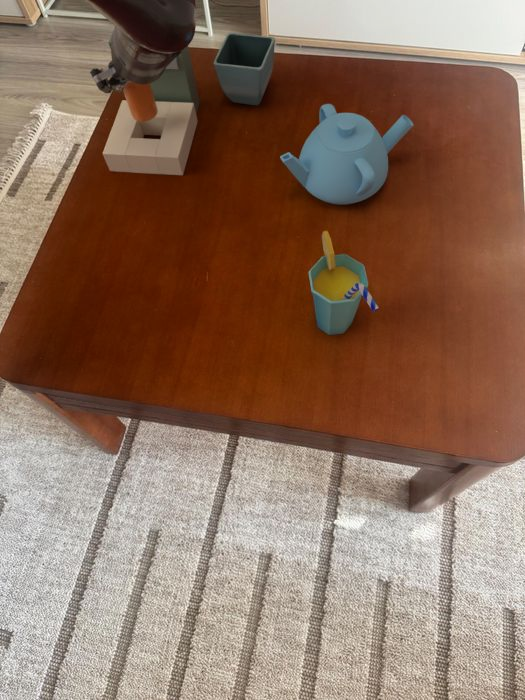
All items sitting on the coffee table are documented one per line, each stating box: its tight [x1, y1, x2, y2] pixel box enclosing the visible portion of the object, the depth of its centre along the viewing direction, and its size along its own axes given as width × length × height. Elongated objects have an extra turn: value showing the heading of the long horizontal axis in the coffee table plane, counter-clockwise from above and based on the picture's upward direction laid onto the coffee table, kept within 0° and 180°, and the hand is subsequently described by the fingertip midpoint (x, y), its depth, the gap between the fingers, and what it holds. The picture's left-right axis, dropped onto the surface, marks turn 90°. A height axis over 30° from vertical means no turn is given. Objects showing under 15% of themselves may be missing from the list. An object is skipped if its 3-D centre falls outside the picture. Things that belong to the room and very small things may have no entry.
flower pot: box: [213, 32, 276, 106], centre depth 94 cm, size 9×9×9 cm
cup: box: [308, 230, 380, 336], centre depth 69 cm, size 14×8×15 cm, turn 28°
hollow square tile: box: [102, 99, 199, 176], centre depth 92 cm, size 13×13×4 cm
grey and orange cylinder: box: [122, 82, 158, 122], centre depth 84 cm, size 5×5×9 cm
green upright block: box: [108, 30, 200, 115], centre depth 92 cm, size 12×4×14 cm, turn 82°
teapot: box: [279, 103, 414, 206], centre depth 83 cm, size 15×17×11 cm
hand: (130, 79), depth 84 cm, fingers closed on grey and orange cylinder, 4 cm apart
